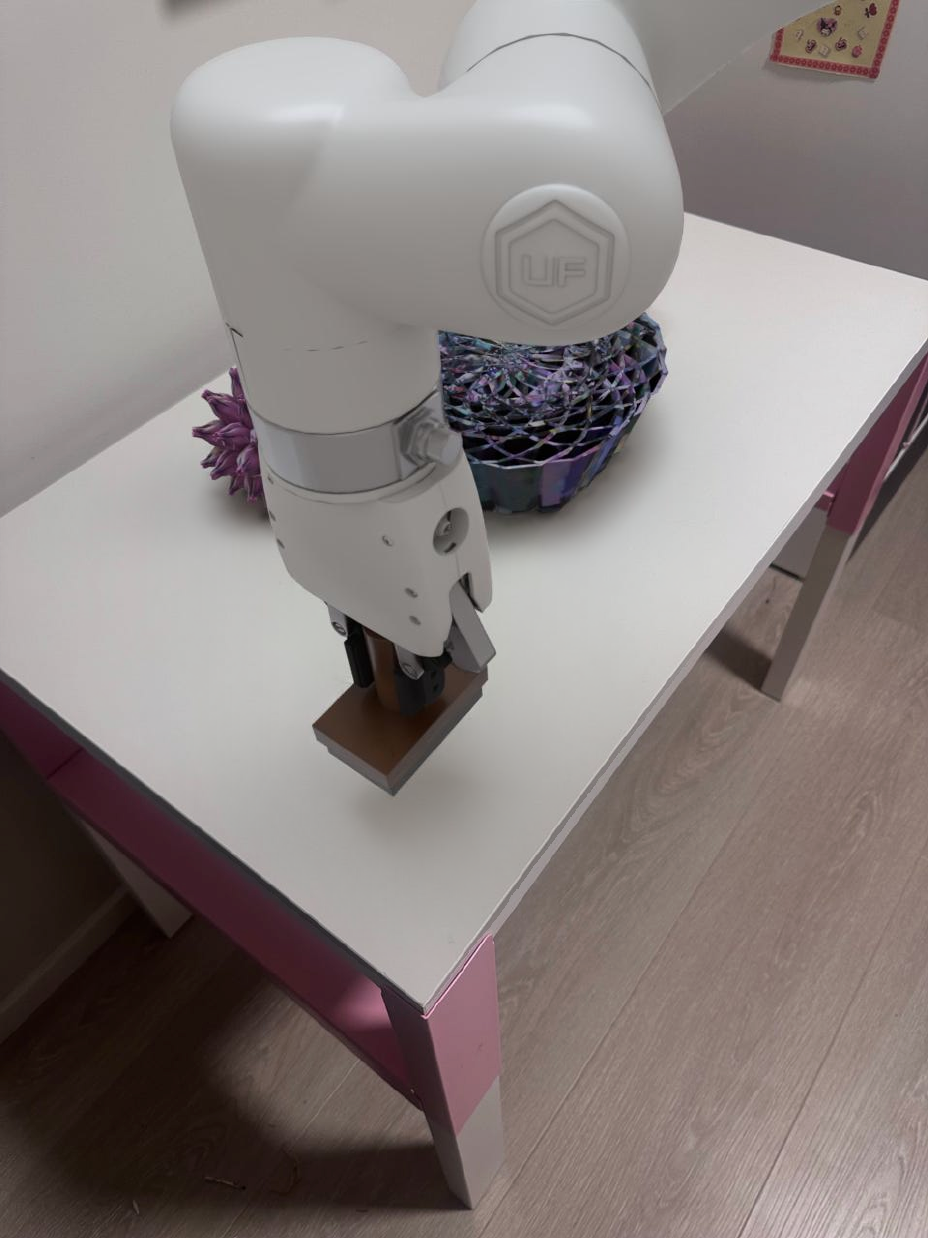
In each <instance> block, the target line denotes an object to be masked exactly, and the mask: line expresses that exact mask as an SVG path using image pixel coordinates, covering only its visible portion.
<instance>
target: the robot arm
mask: <svg viewBox="0 0 928 1238" xmlns="http://www.w3.org/2000/svg"><path fill="white" fill-rule="evenodd" d="M838 1H839V0H475V2H474V3H473V4H472V6H471V7H470V9H469V10H468V11H467V13H466V14H465V16H464V17H463V19H462V21H461V22H460V24H459V25H458V27H457V29H456V31H455V33H454V36H453V37H452V39H451V40H450V43H449V44H448V47H447V50H446V53H445V55H444V58H443V61H442V64H441V67H440V72H439V77H438V81H437V85H436V86H437V87H436V92H435V93H433V94H431V95H429V96H425V97H423V96H421V95H419V94H417V92H415V90H414V89H413V87H412V85H411V83H410V81H409V79H408V77H407V75H406V74H405V72H403V70H402V69H401V68H400V66H399V65H398V64H397V63H396V62H395V61H394V60H393V59H392V58H390V57H389V56H388V55H386V53H384V52H382V51H380V50H379V49H377V48H376V47H374V46H371V45H368V44H365V43H361V42H357V41H353V40H348V39H342V38H337V37H336V38H335V37H329V36H294V37H292V36H291V37H283V38H276V39H268V40H263V41H258V42H254V43H250V44H246V45H242V46H239V47H236V48H234V49H231V50H228V51H226V52H223V53H222V54H219V55H217V56H215V57H213V58H211V59H209V60H207V61H206V62H204V63H202V64H200V65H199V66H198V67H196V68H194V70H192V71H191V72H190V74H188V75H187V77H186V78H185V79H184V80H183V81H182V83H181V84H180V85H179V87H178V88H177V90H176V92H175V95H174V98H173V101H172V105H171V109H170V110H171V111H170V120H169V131H170V139H171V144H172V148H173V153H174V156H175V161H176V166H177V169H178V173H179V177H180V180H181V183H182V187H183V190H184V193H185V197H186V200H187V203H188V208H189V210H190V214H191V217H192V221H193V224H194V227H195V231H196V234H197V238H198V241H199V244H200V248H201V251H202V255H203V258H204V261H205V265H206V268H207V272H208V276H209V279H210V282H211V285H212V289H213V292H214V296H215V300H216V302H217V305H218V309H219V312H220V316H221V319H222V323H223V326H224V329H225V333H226V336H227V340H228V343H229V347H230V349H231V353H232V357H233V360H234V363H235V368H237V371H238V374H239V378H240V381H241V385H242V388H243V391H244V395H245V399H246V402H247V405H248V409H249V412H250V416H251V419H252V423H253V426H254V429H255V433H256V436H257V440H258V452H259V461H260V470H261V476H262V483H263V489H264V494H265V499H266V504H267V507H266V509H267V514H268V517H269V521H270V525H271V529H272V533H273V536H274V540H275V543H276V546H277V550H278V551H279V554H280V558H281V560H282V563H283V565H284V567H285V569H286V571H287V573H288V575H289V576H290V577H291V579H293V580H294V581H295V582H296V583H297V584H298V585H299V586H300V587H301V588H302V589H304V590H305V591H307V592H308V593H310V594H311V595H313V596H315V597H316V598H317V599H320V600H321V601H322V602H323V603H324V604H325V605H326V607H327V610H328V616H329V621H330V625H331V627H332V629H333V630H334V632H336V633H337V634H338V635H339V636H340V637H342V638H346V640H344V641H343V646H344V649H345V653H346V658H347V661H348V665H349V669H350V670H349V671H350V673H351V677H352V681H353V683H354V684H356V685H357V686H359V687H360V688H367V687H369V686H370V685H371V684H372V683H373V682H374V676H373V672H372V668H371V663H370V659H369V655H368V650H367V646H366V641H365V637H364V633H363V628H362V624H363V625H364V626H366V627H368V628H369V629H371V630H373V631H375V632H376V633H378V634H380V635H381V636H383V637H385V638H387V639H388V640H390V641H392V642H394V644H395V648H396V652H397V656H398V660H399V665H398V666H397V667H396V668H395V669H394V671H393V677H394V682H395V687H396V692H397V697H398V702H399V707H400V710H401V713H402V714H403V715H405V716H406V717H408V718H409V719H410V718H412V717H413V716H414V715H415V714H416V713H417V712H418V711H419V710H420V709H421V708H422V707H423V706H424V705H425V704H427V705H430V704H432V703H433V702H434V701H435V700H436V699H437V698H438V697H439V696H440V694H441V693H442V691H443V689H444V686H445V671H444V669H445V668H447V667H448V665H449V664H450V665H454V666H455V668H458V669H463V670H467V671H472V672H476V673H480V672H481V671H482V670H483V669H484V667H485V666H486V665H488V664H489V663H490V662H491V661H492V660H493V659H494V658H495V656H497V651H496V648H495V647H494V644H493V642H492V640H491V638H490V636H489V634H488V633H487V630H486V629H485V627H484V624H483V623H482V621H481V619H480V616H479V614H478V612H479V613H480V614H484V612H485V611H486V610H487V608H488V607H489V606H490V604H491V603H492V601H493V576H492V565H491V557H490V549H489V543H488V536H487V530H486V525H485V524H486V523H485V517H484V514H483V511H482V508H481V504H480V500H479V496H478V491H477V488H476V485H475V481H474V478H473V475H472V471H471V468H470V465H469V463H468V460H467V458H466V455H465V452H464V450H463V447H462V445H463V439H462V437H461V435H460V434H458V433H456V432H454V431H452V430H450V429H449V428H448V426H447V425H446V421H445V410H444V398H443V386H442V374H441V360H440V349H439V337H438V330H442V331H447V332H453V333H458V334H463V335H468V336H474V337H479V338H484V339H489V340H495V341H500V342H507V343H514V344H523V345H536V346H560V345H573V344H579V343H585V342H589V341H593V340H596V339H599V338H602V337H605V336H607V335H609V334H612V333H614V332H616V331H618V330H620V329H622V328H623V327H625V326H626V325H628V324H629V323H631V322H632V321H634V320H635V319H636V318H638V317H639V316H640V315H641V314H642V313H643V312H644V311H645V310H646V309H648V310H649V308H650V307H651V306H652V304H653V303H654V302H655V301H656V299H657V298H658V297H659V296H660V294H661V293H662V292H663V290H664V289H665V287H666V285H667V283H668V282H669V280H670V278H671V276H672V274H673V272H674V269H675V267H676V264H677V261H678V259H679V255H680V251H681V247H682V240H683V236H684V227H685V226H684V225H685V210H684V209H685V207H684V194H683V188H682V180H681V176H680V172H679V167H678V165H677V161H676V158H675V157H676V156H675V154H674V151H673V147H672V144H671V141H670V137H669V134H668V131H667V127H666V124H665V120H664V117H665V116H666V115H667V114H668V113H669V112H671V111H672V110H673V109H674V108H675V107H677V106H678V105H679V104H681V102H683V101H684V100H685V99H686V98H687V97H689V96H690V95H691V94H693V93H694V92H695V91H696V90H697V89H698V88H700V87H701V86H703V84H705V83H706V82H707V81H709V80H710V79H711V78H713V77H714V76H715V75H716V74H717V73H719V72H720V71H721V70H723V69H724V68H725V67H726V66H728V65H729V64H731V63H732V62H733V61H734V60H736V59H737V58H739V57H740V56H742V55H743V54H744V53H746V52H747V51H748V50H750V49H751V48H754V46H756V45H757V44H759V43H761V42H762V41H764V40H765V39H767V38H768V37H770V36H771V35H773V34H775V33H776V32H778V31H780V30H783V28H785V27H787V26H789V25H791V24H792V23H794V22H796V21H797V20H799V19H801V18H803V17H805V16H807V15H809V14H811V13H813V12H816V11H819V10H820V9H821V8H824V7H826V6H828V5H831V4H833V3H836V2H838Z"/></svg>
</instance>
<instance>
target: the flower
mask: <svg viewBox="0 0 928 1238" xmlns="http://www.w3.org/2000/svg"><path fill="white" fill-rule="evenodd" d="M228 374H229V378H230V389H231V391H230V392H231V394H229V393H224V392H213V391H211V390H209V389H208V388H205V389H204V390H203V393H201V395H200V397H201V399H203V400H204V401H205V402H207V404H208V406H209V407H210V410H211V412H212V413H213V415H214V416H215V417H217V418H218V419H213V420H210V421H208V422H206V423H205V424H203V425H198V426H192V427H191V431H192V432H191V437H193V438H197V439H202V440H203V441H205V442H206V443H208V444H209V445H211V446H212V447H213V448H212V449H211V450H210V451H209V454H208V455H207V456H206V457H205V458H204V459H202V460H201V461H200V466H202V469H205V470H206V469H208V468H213V469H211V470H210V471H209V473H208V475H209V476H210V477H211V481H216V480H218V479H220V478H222V477H230V480H229V481H230V482H229V487H228V488H227V491H226V495H228V496H230V497H233V496H234V495H235V494H236V493H237V492H238V491H240V490H242V489H244V488H245V490H246V493H247V500H246V501H247V502H249V503H250V504H252V503H254V504H256V503H257V501H258V498H259V497H260V496H261V498H262V500H263V507H264V508H267V504H266V499H265V494H264V489H263V483H262V476H261V470H260V461H259V452H258V440H257V436H256V433H255V429H254V426H253V423H252V419H251V416H250V412H249V409H248V405H247V402H246V399H245V395H244V391H243V388H242V385H241V381H240V378H239V374H238V371H237V367H230V368H229V371H228Z"/></svg>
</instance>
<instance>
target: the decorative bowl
mask: <svg viewBox="0 0 928 1238" xmlns="http://www.w3.org/2000/svg"><path fill="white" fill-rule="evenodd" d="M438 337H439V349H440V360H441V374H442V386H443V398H444V410H445V421H446V425H447V426H448V428H449V429H450V430H452V431H454V432H456V433H458V434H460V435H461V437H462V439H463V445H462V447H463V450H464V452H465V455H466V458H467V460H468V463H469V465H470V468H471V471H472V475H473V478H474V481H475V485H476V488H477V491H478V496H479V500H480V504H481V508H482V512H494V511H498V513H499V514H501V515H505V516H516V515H517V516H518V515H524V514H530V513H532V512H533V511H534V510H535V509H536V510H538V511H539V512H542V513H548V512H559V511H560V510H561V509H563V507H564V506H565V505H566V504H568V503H569V502H570V500H571V499H573V497H574V496H575V495H576V494H577V493H580V491H582V490H584V489H585V488H587V487H588V486H590V484H591V483H592V480H593V479H594V478H595V477H596V476H597V475H598V474H600V473H601V472H602V471H604V470H605V469H606V468H607V466H608V464H609V462H610V461H611V459H612V457H613V456H615V455H616V454H619V453H620V452H621V450H622V449H623V447H624V445H625V444H626V442H627V439H628V438H629V435H630V434H631V432H632V431H633V429H634V428H635V425H636V424H637V422H638V420H639V418H640V416H641V415H642V413H643V411H644V410H645V408H646V406H647V404H648V403H649V400H650V399H651V397H652V396H654V395H655V394H658V393H659V391H660V389H661V387H662V385H663V384H664V382H665V380H666V379H667V376H668V374H669V370H668V367H667V365H666V357H667V351H668V348H667V347H666V345H665V342H664V338H663V334H662V330H661V328H660V323H658V322H656V321H655V320H654V319H652V318H651V317H649V315H648V313H647V314H646V313H645V312H643V313H642V314H641V315H640V316H639V317H638V318H636V319H635V320H634V321H632V322H631V323H629V324H628V325H626V326H625V327H623V328H622V329H620V330H618V331H616V332H614V333H612V334H609V335H607V336H605V337H602V338H599V339H596V340H593V341H589V342H585V343H579V344H573V345H560V346H536V345H523V344H514V343H507V342H500V341H495V340H489V339H484V338H479V337H474V336H468V335H463V334H458V333H453V332H447V331H442V330H438Z"/></svg>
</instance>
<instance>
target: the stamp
mask: <svg viewBox="0 0 928 1238" xmlns="http://www.w3.org/2000/svg"><path fill="white" fill-rule="evenodd" d="M362 628H363V633H364V637H365V641H366V646H367V650H368V655H369V659H370V663H371V668H372V672H373V676H374V682H373V683H372V684H371V685H370V686H369V687H367V688H360V687H359V686H357V685H356V684H354V682H353V683H352V684H351V685H350V686H349V687H348V688H347V689H346V690H345V691H344V692H343V693H342V694H341V695H340V696H339V697H338V698H337V699H336V700H335V701H334V702H333V703H332V704H331V705H330V706H329V707H328V708H327V709H326V710H325V711H324V712H323V713H322V714H321V715H320V716H319V717H318V718H317V719H316V720H315V721H314V722H313V723H312V724H311V727H312V730H313V733H314V736H315V739H316V741H317V742H319V743H320V744H321V745H323V746H324V747H325V748H326V749H327V753H328V754H330V755H332V756H333V757H334V758H335V759H337V760H339V761H340V762H341V763H343V764H344V765H346V766H347V767H349V768H350V769H351V770H353V771H354V772H356V773H358V774H359V775H360V776H362V777H363V778H364V779H366V780H367V781H369V782H371V783H372V784H374V785H375V786H376V787H378V788H379V789H381V790H382V791H383V792H384V793H386V794H387V795H389V796H391V797H392V798H394V797H395V796H396V795H397V794H398V793H399V791H400V790H401V789H402V788H403V787H404V786H405V785H406V783H407V782H408V781H409V780H411V778H412V777H413V776H414V774H415V773H416V772H417V771H418V770H419V769H420V768H421V766H423V764H424V763H426V761H427V760H428V759H429V758H430V757H431V755H433V753H434V752H435V751H436V750H437V748H438V747H439V746H440V745H441V744H442V743H443V742H444V741H445V739H447V737H448V736H449V735H450V734H451V733H452V732H453V730H454V729H455V728H456V727H457V725H459V723H460V722H461V721H462V720H463V719H464V718H465V717H466V715H467V714H469V712H470V711H471V710H472V708H473V707H474V706H475V705H476V704H477V703H478V702H479V701H480V699H481V698H482V697H483V686H485V684H486V683H487V682H488V681H489V668H488V667H489V666H488V664H487V665H486V666H485V667H484V669H483V670H482V671H481V672H480V673H476V672H472V671H467V670H463V669H458V668H455V666H454V665H450V664H449V665H448V667H447V668H445V669H444V671H445V686H444V689H443V691H442V693H441V694H440V696H439V697H438V698H437V699H436V700H435V701H434V702H433V703H432V704H430V705H427V704H425V705H424V706H423V707H422V708H421V709H420V710H419V711H418V712H417V713H416V714H415V715H414V716H413V717H412V718H410V719H409V718H408V717H406V716H405V715H403V714H402V713H401V710H400V707H399V702H398V697H397V692H396V687H395V682H394V677H393V671H394V669H395V668H396V667H397V666H398V665H399V660H398V656H397V652H396V648H395V644H394V642H392V641H390V640H388V639H387V638H385V637H383V636H381V635H380V634H378V633H376V632H375V631H373V630H371V629H369V628H368V627H366V626H364V625H363V624H362Z"/></svg>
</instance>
